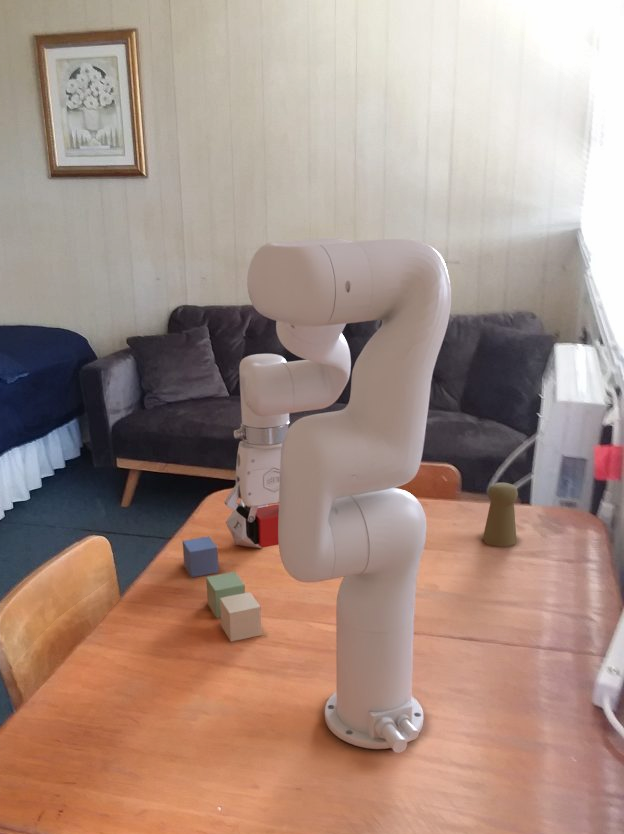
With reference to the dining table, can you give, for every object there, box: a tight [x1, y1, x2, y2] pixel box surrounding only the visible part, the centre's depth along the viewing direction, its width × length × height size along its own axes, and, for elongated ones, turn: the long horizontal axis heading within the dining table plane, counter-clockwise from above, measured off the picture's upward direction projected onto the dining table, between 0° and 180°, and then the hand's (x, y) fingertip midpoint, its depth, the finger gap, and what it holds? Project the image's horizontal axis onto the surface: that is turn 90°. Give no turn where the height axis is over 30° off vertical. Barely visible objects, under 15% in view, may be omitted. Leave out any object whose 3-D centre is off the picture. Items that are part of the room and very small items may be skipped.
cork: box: [482, 482, 519, 548], centre depth 155 cm, size 6×6×11 cm
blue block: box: [182, 535, 219, 578], centre depth 150 cm, size 5×5×5 cm
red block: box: [256, 503, 279, 549], centre depth 138 cm, size 5×5×5 cm
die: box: [225, 499, 269, 549], centre depth 158 cm, size 8×9×10 cm
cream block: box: [220, 591, 263, 643], centre depth 129 cm, size 5×5×5 cm
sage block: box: [205, 571, 246, 619], centre depth 136 cm, size 5×5×5 cm
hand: (270, 537), depth 139 cm, fingers closed on red block, 5 cm apart
